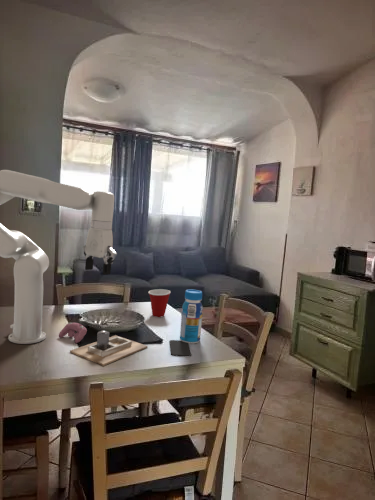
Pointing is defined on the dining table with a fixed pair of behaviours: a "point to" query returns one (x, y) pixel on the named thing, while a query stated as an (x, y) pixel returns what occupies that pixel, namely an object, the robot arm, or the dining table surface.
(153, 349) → the dining table surface
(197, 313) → the beverage bottle
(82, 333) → the video game controller
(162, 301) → the plastic cup
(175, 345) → the phone
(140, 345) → the tray
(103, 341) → the cylinder
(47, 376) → the dining table surface
